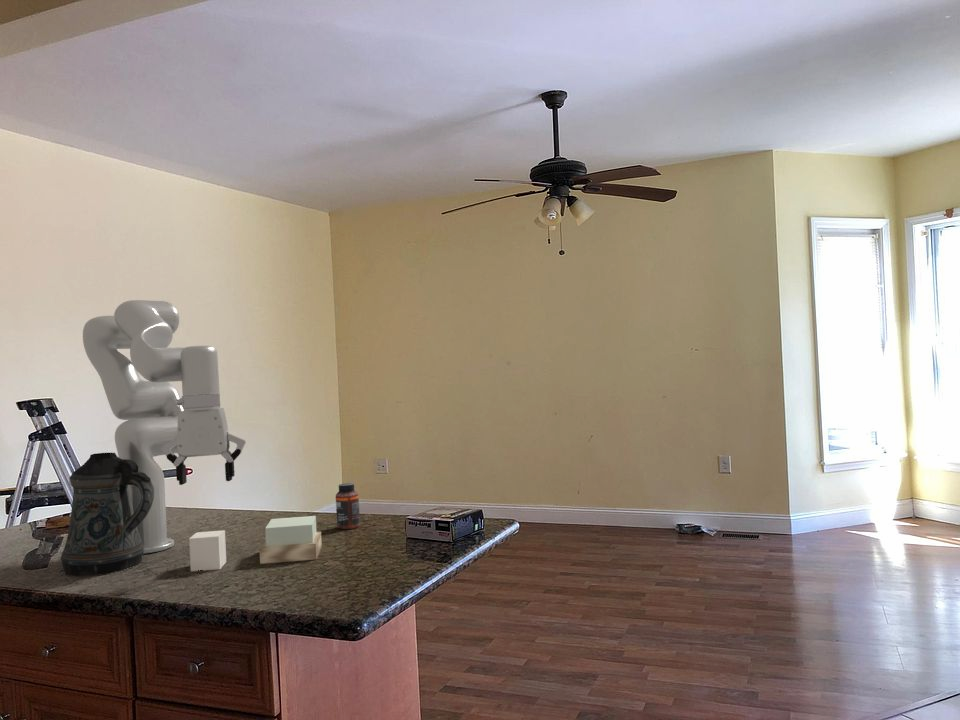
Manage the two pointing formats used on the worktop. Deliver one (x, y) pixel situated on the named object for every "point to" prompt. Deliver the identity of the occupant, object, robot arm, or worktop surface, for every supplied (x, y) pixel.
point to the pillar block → (207, 550)
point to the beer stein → (105, 516)
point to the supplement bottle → (347, 507)
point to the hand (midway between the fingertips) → (206, 482)
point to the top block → (291, 531)
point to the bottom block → (291, 551)
